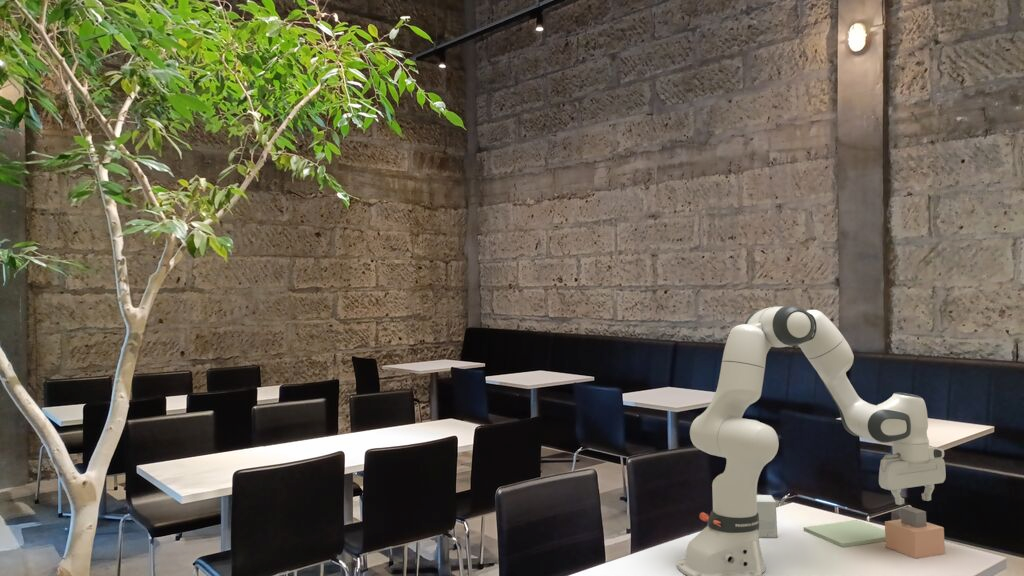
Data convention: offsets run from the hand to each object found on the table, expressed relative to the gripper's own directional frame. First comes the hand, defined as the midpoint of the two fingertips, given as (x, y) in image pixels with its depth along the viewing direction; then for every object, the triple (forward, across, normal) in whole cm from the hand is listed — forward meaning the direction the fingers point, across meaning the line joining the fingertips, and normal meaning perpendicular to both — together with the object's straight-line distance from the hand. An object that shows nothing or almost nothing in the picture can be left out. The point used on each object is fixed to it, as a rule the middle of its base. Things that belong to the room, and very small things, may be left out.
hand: (913, 502), depth 198 cm
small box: (+13, -28, +27) cm, 41 cm away
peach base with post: (+13, 0, 0) cm, 13 cm away
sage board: (+13, -6, +17) cm, 22 cm away
